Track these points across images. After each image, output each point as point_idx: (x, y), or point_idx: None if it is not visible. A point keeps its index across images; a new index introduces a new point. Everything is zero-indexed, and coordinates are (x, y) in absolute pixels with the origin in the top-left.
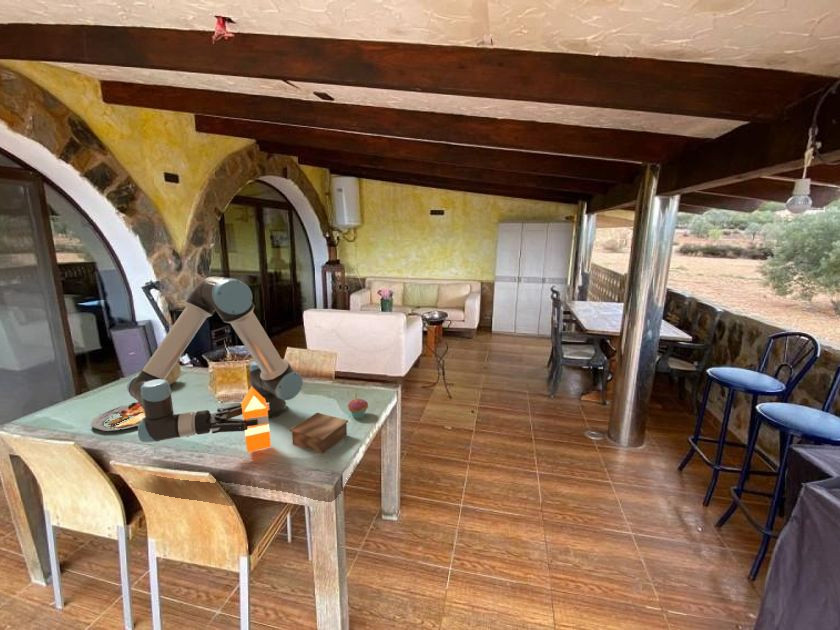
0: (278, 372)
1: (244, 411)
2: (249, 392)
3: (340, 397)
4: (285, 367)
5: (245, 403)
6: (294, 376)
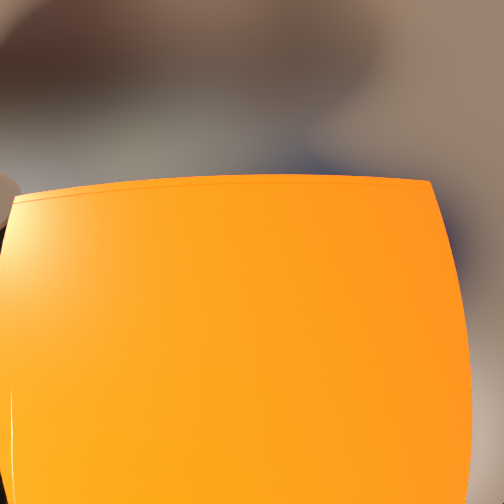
0: (4, 199)
1: (445, 491)
2: (71, 283)
3: None
4: (14, 182)
5: (281, 471)
6: None
